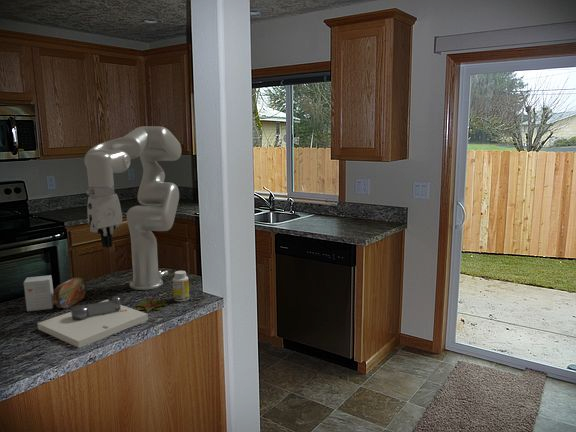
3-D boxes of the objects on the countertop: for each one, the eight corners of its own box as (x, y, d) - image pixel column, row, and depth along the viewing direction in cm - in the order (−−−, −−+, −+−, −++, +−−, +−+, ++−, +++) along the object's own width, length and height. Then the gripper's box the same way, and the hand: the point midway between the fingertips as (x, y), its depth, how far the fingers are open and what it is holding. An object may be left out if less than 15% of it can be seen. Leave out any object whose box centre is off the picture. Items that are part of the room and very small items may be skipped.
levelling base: (106, 305, 164) (105, 295, 164) (147, 319, 152) (147, 309, 151) (38, 329, 145) (36, 318, 144) (79, 348, 133) (78, 336, 132)
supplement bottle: (187, 295, 174) (186, 269, 172) (191, 300, 169) (189, 273, 167) (171, 298, 172) (170, 271, 170) (175, 303, 167) (174, 275, 165)
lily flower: (138, 301, 169) (137, 289, 169) (172, 300, 170) (171, 288, 169) (129, 314, 158) (128, 301, 157) (165, 313, 158) (165, 300, 158)
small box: (55, 303, 166) (52, 274, 165) (52, 309, 161) (49, 279, 159) (29, 306, 164) (26, 277, 162) (26, 311, 159) (23, 282, 157)
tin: (60, 312, 159) (58, 288, 157) (52, 311, 159) (50, 287, 158) (88, 296, 173) (86, 274, 172) (80, 295, 174) (78, 274, 172)
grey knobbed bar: (72, 321, 145) (71, 308, 145) (70, 315, 150) (69, 303, 149) (122, 311, 153) (121, 299, 152) (119, 306, 157) (118, 294, 156)
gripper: (88, 196, 143) (94, 254, 147) (128, 189, 155) (133, 242, 159) (73, 194, 147) (80, 250, 151) (114, 187, 159) (118, 239, 163)
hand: (107, 246), depth 155 cm, fingers closed
